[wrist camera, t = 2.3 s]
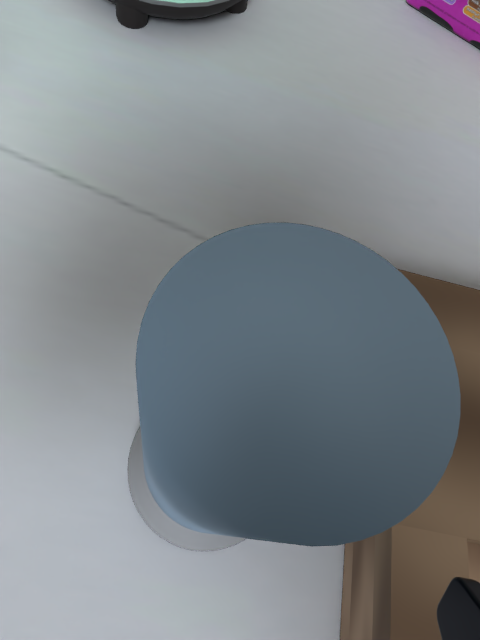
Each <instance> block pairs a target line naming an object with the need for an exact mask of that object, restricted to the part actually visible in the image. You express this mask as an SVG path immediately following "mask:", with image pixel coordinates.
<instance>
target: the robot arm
mask: <svg viewBox="0 0 480 640" xmlns="http://www.w3.org/2000/svg"><path fill="white" fill-rule="evenodd" d="M437 621H438V625H439V630H440V634H441V638H442V640H480V583H479V582H478V581H476V580H473V579H468V578H462V577H455V578H453V579H452V580H451V581H450V583H449V585H448V587H447V589H446V591H445V593H444V594H443V596H442V598H441V600H440V602H439V604H438V606H437Z"/></svg>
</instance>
